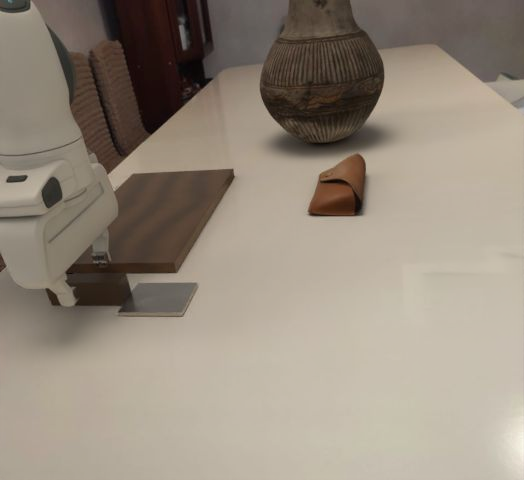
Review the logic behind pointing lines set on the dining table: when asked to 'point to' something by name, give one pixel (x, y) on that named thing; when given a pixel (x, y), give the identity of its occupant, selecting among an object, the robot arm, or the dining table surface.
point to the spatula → (129, 294)
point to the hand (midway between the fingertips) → (88, 283)
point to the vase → (321, 72)
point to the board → (158, 220)
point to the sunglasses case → (340, 189)
